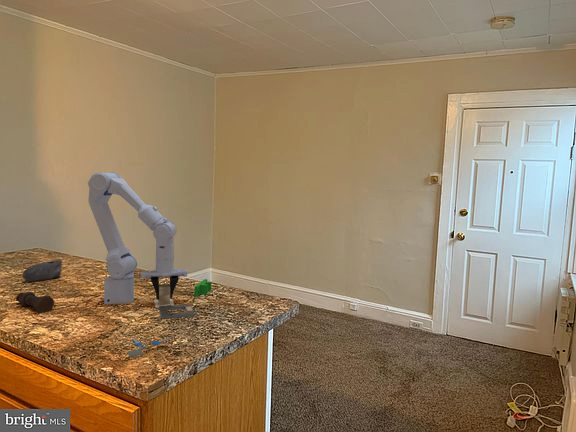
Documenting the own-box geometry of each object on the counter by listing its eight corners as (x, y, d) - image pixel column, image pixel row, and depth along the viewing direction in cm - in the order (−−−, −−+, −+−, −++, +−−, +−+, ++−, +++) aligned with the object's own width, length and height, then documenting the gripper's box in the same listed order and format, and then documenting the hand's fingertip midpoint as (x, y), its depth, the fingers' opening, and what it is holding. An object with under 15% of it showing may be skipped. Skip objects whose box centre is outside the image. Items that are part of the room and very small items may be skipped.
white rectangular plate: (155, 309, 136) (155, 307, 136) (153, 302, 144) (153, 300, 144) (174, 308, 138) (174, 306, 138) (172, 301, 146) (172, 298, 146)
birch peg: (159, 305, 139) (159, 287, 138) (158, 301, 142) (158, 284, 141) (170, 304, 140) (170, 286, 139) (169, 301, 143) (169, 283, 143)
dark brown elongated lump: (23, 307, 138) (48, 316, 131) (8, 303, 135) (33, 311, 127) (32, 290, 141) (57, 297, 133) (17, 286, 137) (43, 293, 129)
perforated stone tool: (25, 284, 158) (25, 266, 157) (19, 281, 161) (19, 264, 161) (66, 277, 170) (66, 260, 169) (60, 275, 173) (60, 258, 172)
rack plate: (161, 321, 126) (161, 316, 126) (158, 310, 136) (159, 305, 135) (195, 318, 130) (195, 313, 130) (190, 308, 139) (190, 303, 139)
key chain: (136, 359, 101) (136, 356, 101) (109, 353, 104) (109, 350, 104) (172, 339, 114) (172, 336, 114) (147, 334, 117) (147, 331, 117)
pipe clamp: (204, 300, 150) (204, 287, 149) (194, 299, 150) (194, 286, 150) (213, 291, 161) (213, 279, 160) (204, 290, 161) (204, 278, 161)
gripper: (142, 261, 133) (141, 303, 134) (188, 260, 138) (187, 300, 140) (141, 257, 140) (140, 297, 141) (185, 255, 145) (185, 294, 146)
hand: (164, 298), depth 141 cm, fingers closed on birch peg, 3 cm apart
